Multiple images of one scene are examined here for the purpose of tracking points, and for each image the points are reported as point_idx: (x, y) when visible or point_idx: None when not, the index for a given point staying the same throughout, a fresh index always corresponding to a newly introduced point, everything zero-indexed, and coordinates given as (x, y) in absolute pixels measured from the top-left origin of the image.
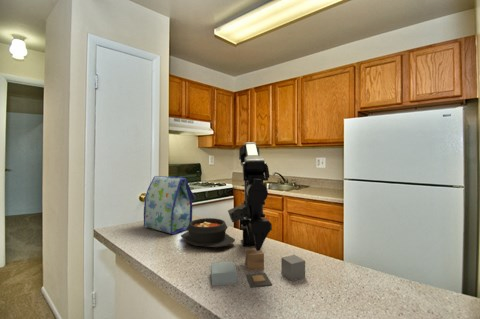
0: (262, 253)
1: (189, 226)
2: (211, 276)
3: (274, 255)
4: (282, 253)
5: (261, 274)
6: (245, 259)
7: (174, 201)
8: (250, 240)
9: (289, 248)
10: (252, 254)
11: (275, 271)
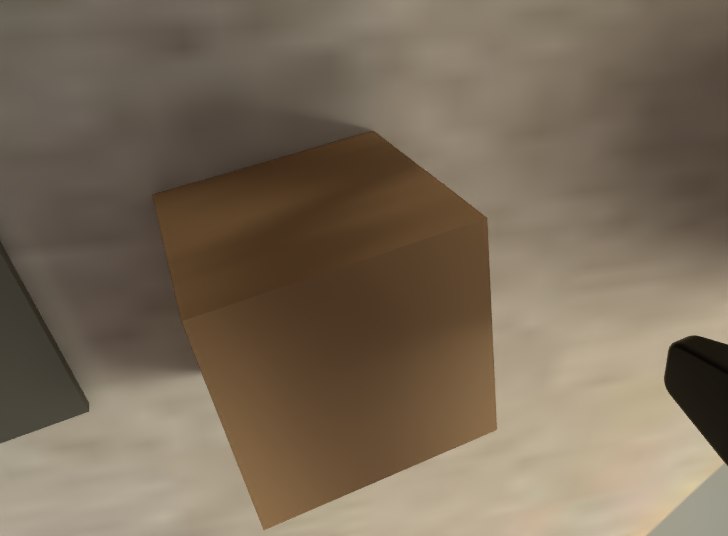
0: (278, 509)
1: None
2: None
3: (549, 413)
4: (575, 465)
5: (17, 382)
6: (393, 153)
7: None
8: (669, 350)
9: (653, 493)
10: (217, 383)
11: (174, 483)
